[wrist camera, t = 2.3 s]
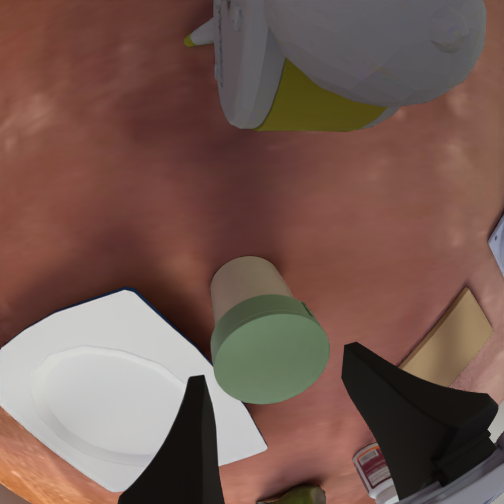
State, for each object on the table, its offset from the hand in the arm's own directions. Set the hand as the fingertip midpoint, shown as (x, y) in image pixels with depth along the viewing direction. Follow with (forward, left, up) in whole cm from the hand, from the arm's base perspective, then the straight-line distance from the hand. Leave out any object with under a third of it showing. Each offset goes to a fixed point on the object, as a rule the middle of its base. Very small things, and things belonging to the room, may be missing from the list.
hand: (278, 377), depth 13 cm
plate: (+15, -2, -9) cm, 17 cm away
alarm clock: (-12, -10, -9) cm, 18 cm away
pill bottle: (+10, +28, -9) cm, 31 cm away
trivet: (-6, +23, -8) cm, 25 cm away
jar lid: (0, 0, -1) cm, 1 cm away
